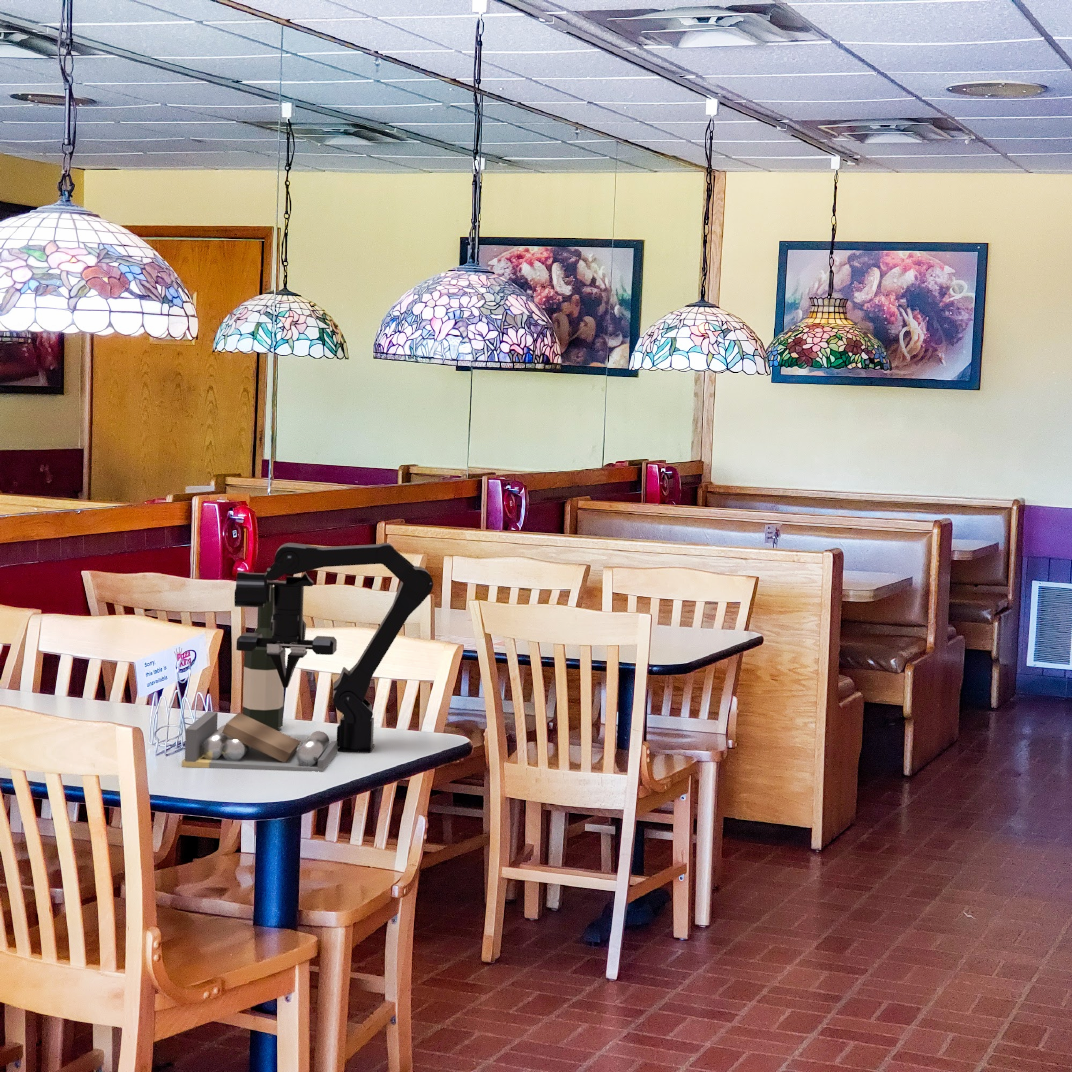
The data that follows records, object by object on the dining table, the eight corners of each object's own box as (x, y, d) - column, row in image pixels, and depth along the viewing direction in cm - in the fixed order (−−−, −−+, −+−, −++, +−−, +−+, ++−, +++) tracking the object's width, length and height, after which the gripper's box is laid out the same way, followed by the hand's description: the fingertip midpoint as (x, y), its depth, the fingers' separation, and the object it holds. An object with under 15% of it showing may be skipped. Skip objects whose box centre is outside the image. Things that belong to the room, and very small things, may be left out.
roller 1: (233, 748, 284) (214, 741, 284) (239, 728, 284) (220, 722, 284) (218, 762, 272) (197, 755, 272) (224, 742, 272) (204, 735, 272)
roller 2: (259, 745, 284) (239, 748, 284) (255, 725, 284) (235, 728, 284) (245, 759, 272) (224, 763, 272) (241, 738, 272) (220, 742, 272)
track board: (336, 753, 286) (338, 718, 285) (322, 773, 270) (324, 736, 269) (203, 746, 286) (204, 711, 286) (181, 766, 271) (182, 729, 270)
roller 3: (305, 745, 283) (314, 727, 282) (323, 755, 283) (332, 737, 282) (292, 760, 271) (302, 741, 271) (311, 770, 271) (321, 751, 271)
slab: (296, 750, 283) (300, 741, 282) (285, 763, 273) (289, 753, 272) (234, 721, 283) (239, 712, 282) (221, 732, 273) (226, 723, 272)
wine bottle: (243, 730, 302) (248, 585, 300) (240, 721, 310) (244, 580, 308) (284, 730, 304) (289, 585, 302) (280, 721, 312) (285, 580, 310)
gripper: (341, 605, 294) (339, 682, 296) (248, 600, 294) (246, 677, 296) (333, 612, 283) (331, 692, 285) (237, 608, 283) (234, 688, 285)
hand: (285, 687), depth 288 cm, fingers closed
